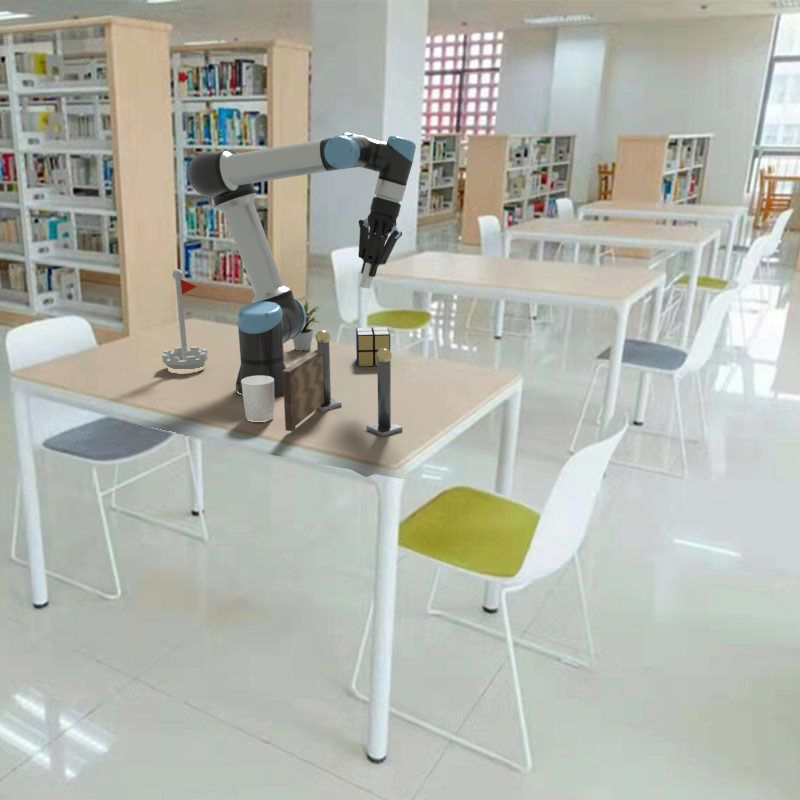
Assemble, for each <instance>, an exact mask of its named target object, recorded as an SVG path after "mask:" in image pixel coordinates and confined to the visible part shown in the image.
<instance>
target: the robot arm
mask: <svg viewBox="0 0 800 800" xmlns="http://www.w3.org/2000/svg"><path fill="white" fill-rule="evenodd" d="M416 147H417V146H416V143H415V142H414V141H412V140H409V139H407V138H404V137H400V136H395V135H389V136H388V139H387V140H386V141H381V140H376V139H373V138H370V137H367V136H365V135H360V134H358V133H351V132H343V133H342V135H341V134H340V135H335V136H334V137H329V138H325V139H318V140H317V139H316V140H311V141H304V142H300V143H299V142H298V143H293V144H288V145H282V146H281V145H280V146H275V147H269V148H264V149H258V150H257V149H256V150H251V151H246V152H245V151H244V152H240V153H239V152H235V151H233V150H224V151H223V150H222V151H221V150H220V151H204V152H201V153H199V154H197V155H195V156H194V157H193V159H191V161H190V164H189V166H188V168H187V169H188V170H187V171H188V172H187V176H188V181H189V183H190V185H191V187H192V188H193V190H195V191H196V192H197V193H198V194H199V195H201V196H202V197H203V196H204V197H206V198H209V199H210V198H212V200H213V203H214V205H215V209H218V210H219V211H221V212H223V214H224V217H225V220H226V222H227V225H228V227H229V230H230V232H231V235H232V237H233V240H234V242H235V243H234V244H235V246H236V248H237V251H238V254H239V256H240V259H241V261H242V264H243V267H244V269H245V273H246V274H247V277H248V280H249V283H250V285H251V288H252V290H253V293H254V295H253V296H254V297H253V299H252V301H251V303H248V304H246V305H243V306H242V307H241V308H240V309H239V310H238V312H237V323H236V324H237V328H238V329H237V330H238V331H237V332H238V343H239V355H240V357H239V358H240V366H239V370H238V374H237V377H236V382H235V391H236V390H237V391H238V392H239V393H241V394H243V392H242V384H241V380H242V379H244V378H246V377H250V376H258V375H263V376H270V377H273V378H274V396H275V397H280V396H284V388H283V370H284V369H286V368H287V366H286V364H285V355H284V353H285V352H284V344H285V343H286V342H289V341H290V340H293V338H295V337H296V336H297V335H298V334H299V333H300V332H301V331H302V329H303V328H304V327H305V324H306V317H307V316H306V314H307V313H306V312H305V309H304V304H302V302H301V301H299V300H298V299H296V298H295V296H294V294H293V292H292V288H290V287H289V286H286V285H285V284H284V282H283V278H282V276H281V274H280V271H279V269H278V265H277V263H276V260H275V258H274V255H273V253H272V250H271V247H270V244H269V242H268V239H267V236H266V233H265V230H264V227H263V225H262V222H261V220H260V217H259V213H258V211H257V209H256V206H255V203H254V201H255V199H256V196H257V193H256V189H255V187H254V185H255V184H257V183H261V182H262V183H263V182H268V181H274V180H281V179H287V178H292V177H293V178H294V177H300V176H305V175H311V174H319V173H324V172H325V173H326V172H329V171H330V172H332V171H338V170H345V169H346V170H347V169H351V168H352V169H353V168H363V169H367V170H370V171H374V172H379V173H378V177H377V181H376V184H375V189H374V192H373V194H374V195H375V196H373V197H372V200H371V205H370V213H369V214H368V215H367V218H365V219H359V220H358V226H359V241H358V242H359V243H358V257H359V258H360V259H362V263H363V264H362V266H361V271H360V272H361V274H362V276H361V279H360V283H359V287H360V288H363V289H369V290H370V288H371V286H372V282H373V278H375V277H376V275H377V271H378V267H379V266H381V265H386V264H387V262H388V259H389V257H390V255H391V253H392V252H393V250H394V247H395V245H396V244H397V241H398V240H399V239H400V238H401V237H402V236H403V232H402V231H400V230H399V228H398V227H397V224H398V223H397V219H398V218H399V215H400V211H401V207H402V206H401V203H400V202H403V199H404V195H405V192H406V188H407V183H408V181H409V178H410V177H409V176H410V172H411V169H412V166H413V163H414V157H415V153H416ZM275 397H274V398H275Z"/></svg>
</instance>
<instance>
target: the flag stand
mask: <svg viewBox="0 0 800 800" xmlns="http://www.w3.org/2000/svg"><path fill="white" fill-rule="evenodd" d="M183 275H184V273H183V271H182V270H181V269H173V271H172V275H171V276H172V277H173V279H175V280H174V281H175V288H176V289H175V290H176V300H177V311H178V320H179V321H178V323H179V333H180V343H181V346H178V347H174V348H173V349H174V351H172V352H171V349H166V350H163V351H162V353H161V358H162V362H163V363H162V364H165V365H166V367H167V366H168V367H170V368H173V369H195V368H200V367H203V366H204V365H206V363H205V362H207V360H208V359H209V358H208V350H207V348H201V350H200V347H199V346H190V347H189V350H188V344H187V333H186V332H187V331H186V322H185V313H184V312H185V311H184V301H183V295H185V294H186V293H188V292H189V291H192V290H193V289H195V288H197V285H195V284H192V283H190V282H188V281H185V280H183ZM181 360H183V361H181Z"/></svg>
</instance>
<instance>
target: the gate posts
mask: <svg viewBox="0 0 800 800" xmlns="http://www.w3.org/2000/svg"><path fill="white" fill-rule="evenodd" d="M315 340H316V343H317V346H316V347H317V350H324V354H323V378H324V404H322V405H321V406H320V407H319V408H318V409H320V410H319V411H321V410H326V409H329V410H331V409H330V408H333V409H336V408H335V407H337V408H340V407H339V406H341V407H342V404H343V403H342V402H341V401H338V400H337V399H333V398H332V394H331V393H332V392H331V389H332V388H331V384H332V383H331V359H330V358H331V357H330V354H331V352H330V340H331V334H330V333H329V331H327V330H324V329H322V330H318V332H317V333H316V335H315ZM392 354H393V353H392V352H391V350H390V351H389V350H388V349H386V348H382V349H380V350H379V351H378V352H377V354H376V358H377V362H378V366H377V422H376V423H372V424H370V425H366V431H368V432H370V433H373V434H375V435H378V436H379V437H382V438H384V437H387V436H390V435H393V434H394V435H395V434H397V433H400V432H402V431H403V426H401V425H398V424H395V423H393V422H392V421H391V420H392V417H391V415H392V413H391V412H392V411H391V410H392V409H391V408H392V407H391V405H392V401H391V399H392V397H391V396H392V395H391V390H392V389H391V386H392V385H391V378H392V377H391V368H392V366H391V363H392V362H391V361H392V358H393V357H392V356H393V355H392ZM318 409H317V410H318ZM326 411H327V410H326Z"/></svg>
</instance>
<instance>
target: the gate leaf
mask: <svg viewBox="0 0 800 800" xmlns="http://www.w3.org/2000/svg"><path fill="white" fill-rule="evenodd" d="M323 354H324V350H318V349H316V350H313V351H312V352H310V353H309V354H308V355H305V356H304V357H303V358H301V359H300V360H298V361H296V362H294V363H292V364H291V365H289V366H288V367H286V369H284V370H283V388H284V395H283V404H284V406H283V407H284V425H285V428H284V429H285V431H288V432H294V431H295V430H297V429H296V427H297V425H299V424H300V423H301V422H302V421H304V420H305V419H306V418H307V417H309V416H310V415H311V414H312V413H314V412H315V411H316V410H318V409H317V408H319V407H320V406H321V405H322V404H324V378H323Z"/></svg>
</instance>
